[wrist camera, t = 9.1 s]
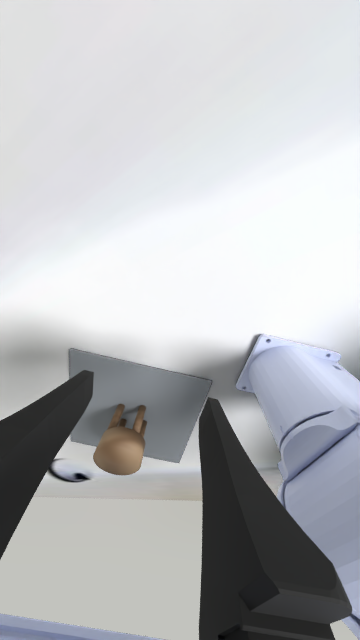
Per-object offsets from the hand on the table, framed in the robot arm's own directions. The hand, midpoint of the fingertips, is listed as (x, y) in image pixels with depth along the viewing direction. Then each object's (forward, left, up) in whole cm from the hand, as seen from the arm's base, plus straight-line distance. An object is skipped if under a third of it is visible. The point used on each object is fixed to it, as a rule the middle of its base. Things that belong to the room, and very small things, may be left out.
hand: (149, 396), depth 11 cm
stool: (+2, +15, -10) cm, 18 cm away
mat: (+2, +15, -10) cm, 18 cm away
